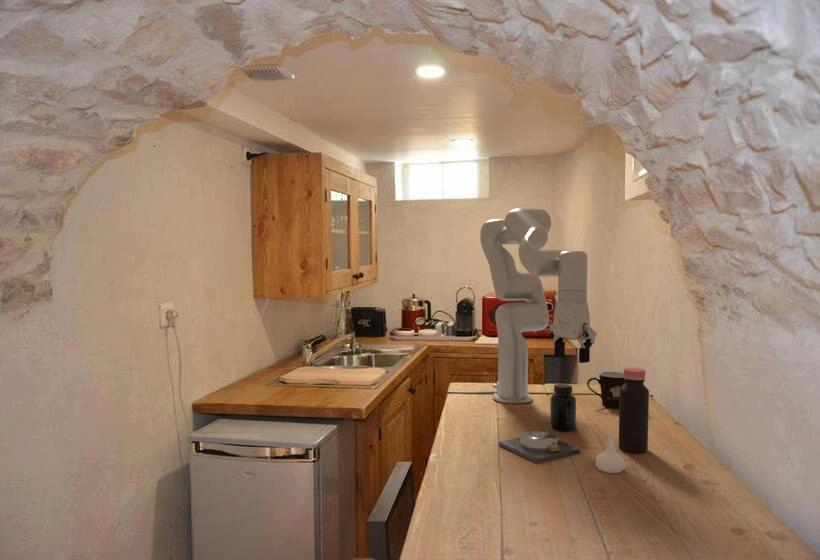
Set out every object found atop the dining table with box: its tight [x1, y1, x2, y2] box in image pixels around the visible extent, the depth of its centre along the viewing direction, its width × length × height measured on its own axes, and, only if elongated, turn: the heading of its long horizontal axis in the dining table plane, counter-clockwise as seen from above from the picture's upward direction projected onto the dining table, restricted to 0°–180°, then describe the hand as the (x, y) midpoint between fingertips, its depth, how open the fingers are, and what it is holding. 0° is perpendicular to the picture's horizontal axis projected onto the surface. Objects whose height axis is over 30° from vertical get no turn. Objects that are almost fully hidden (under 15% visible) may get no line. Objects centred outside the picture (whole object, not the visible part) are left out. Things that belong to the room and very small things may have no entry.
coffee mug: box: [586, 371, 625, 410], centre depth 187 cm, size 12×9×10 cm
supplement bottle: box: [550, 383, 577, 433], centre depth 164 cm, size 7×7×12 cm
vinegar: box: [618, 367, 650, 454], centre depth 147 cm, size 7×7×20 cm
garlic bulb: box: [594, 434, 626, 474], centre depth 135 cm, size 6×6×8 cm
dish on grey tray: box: [498, 430, 581, 464], centre depth 148 cm, size 14×14×3 cm
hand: (571, 359), depth 162 cm, fingers open, 9 cm apart
